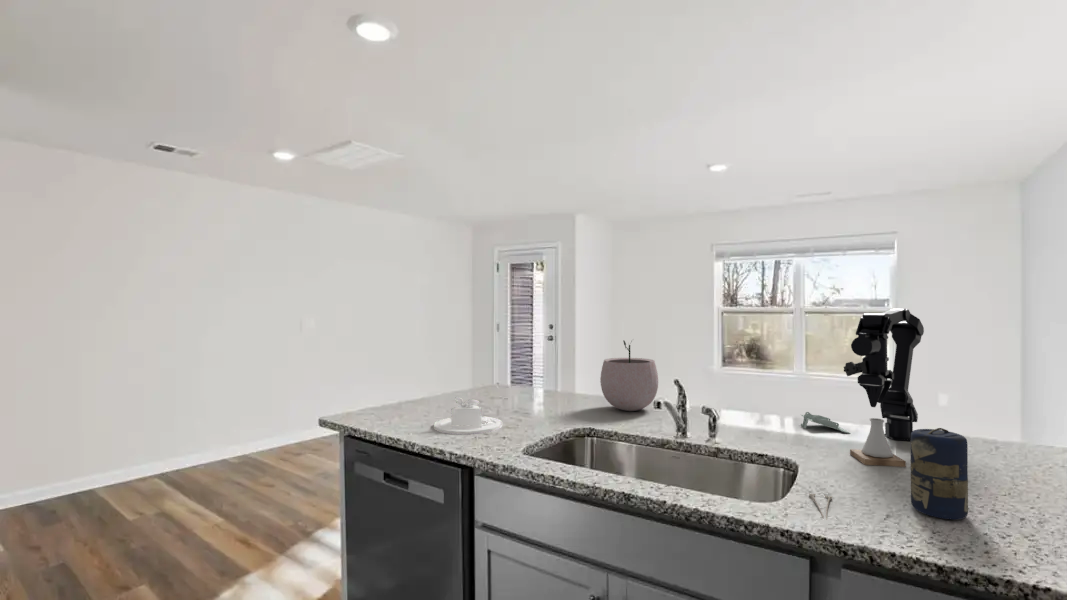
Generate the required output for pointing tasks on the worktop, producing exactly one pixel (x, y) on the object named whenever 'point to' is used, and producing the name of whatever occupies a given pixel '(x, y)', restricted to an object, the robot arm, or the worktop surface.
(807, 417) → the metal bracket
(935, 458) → the canister
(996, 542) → the worktop surface
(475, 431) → the dish
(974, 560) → the worktop surface
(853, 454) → the walnut board
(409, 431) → the worktop surface
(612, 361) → the plant pot
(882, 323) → the robot arm
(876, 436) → the flask
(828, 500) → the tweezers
